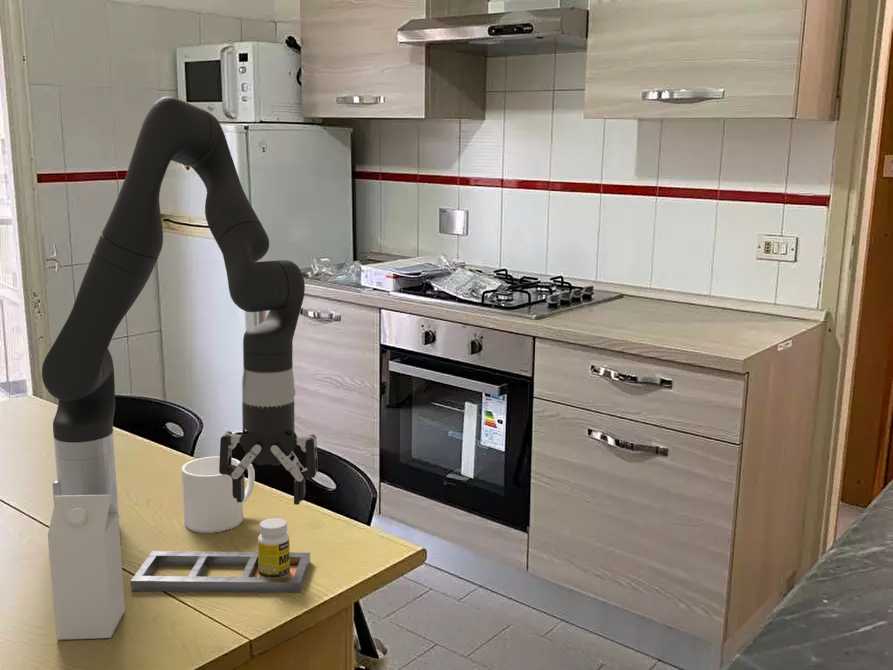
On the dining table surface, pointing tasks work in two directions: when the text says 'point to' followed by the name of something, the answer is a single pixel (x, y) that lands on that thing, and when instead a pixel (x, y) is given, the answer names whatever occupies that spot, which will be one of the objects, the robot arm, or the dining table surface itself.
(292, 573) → the marked hole pad
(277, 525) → the supplement bottle
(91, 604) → the milk carton
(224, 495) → the mug
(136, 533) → the dining table surface
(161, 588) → the grey flat rectangular frame
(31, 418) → the dining table surface
